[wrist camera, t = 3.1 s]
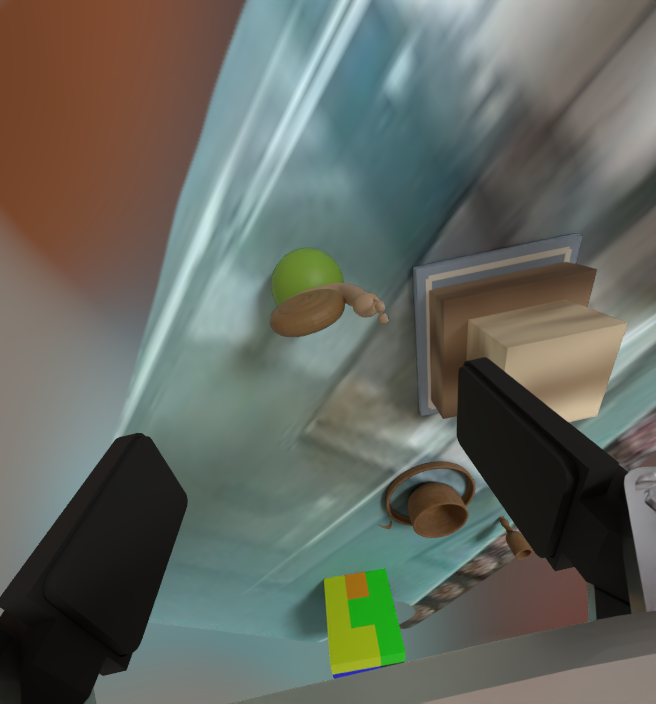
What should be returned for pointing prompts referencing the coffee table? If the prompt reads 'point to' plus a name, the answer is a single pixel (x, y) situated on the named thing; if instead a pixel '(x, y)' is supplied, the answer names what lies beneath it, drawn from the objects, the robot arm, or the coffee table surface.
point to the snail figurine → (315, 294)
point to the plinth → (490, 302)
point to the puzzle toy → (362, 623)
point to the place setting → (445, 508)
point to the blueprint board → (471, 271)
